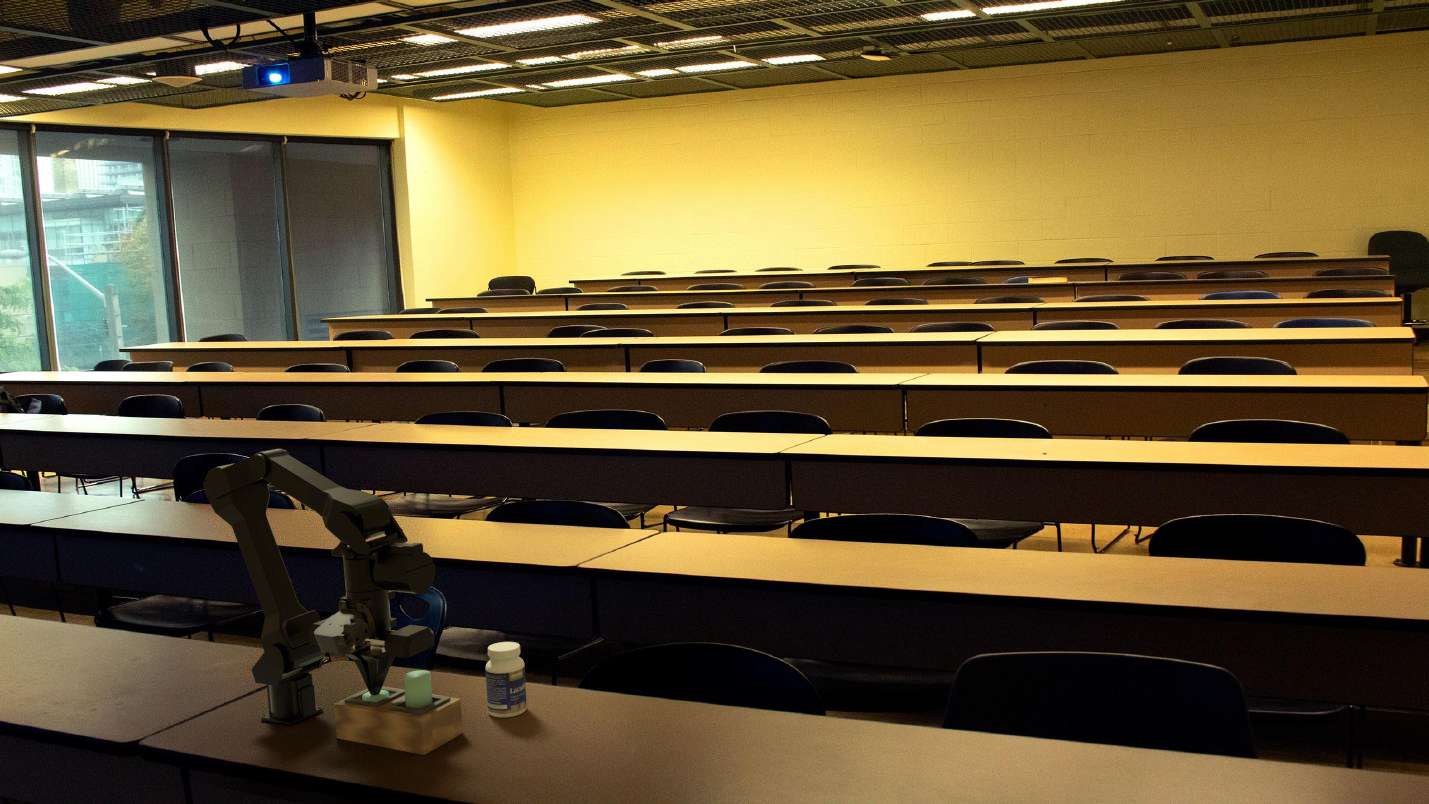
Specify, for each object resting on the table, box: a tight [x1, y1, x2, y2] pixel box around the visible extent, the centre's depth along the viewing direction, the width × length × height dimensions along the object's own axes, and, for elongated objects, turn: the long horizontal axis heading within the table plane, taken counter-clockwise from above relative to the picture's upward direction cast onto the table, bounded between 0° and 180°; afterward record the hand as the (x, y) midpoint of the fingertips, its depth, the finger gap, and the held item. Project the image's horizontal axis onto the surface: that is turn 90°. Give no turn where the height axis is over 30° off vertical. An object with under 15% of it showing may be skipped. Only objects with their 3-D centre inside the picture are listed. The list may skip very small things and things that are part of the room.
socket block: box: [333, 685, 464, 756], centre depth 159 cm, size 16×8×5 cm, turn 63°
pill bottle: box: [485, 641, 528, 719], centre depth 166 cm, size 6×6×10 cm
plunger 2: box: [403, 669, 433, 710], centre depth 157 cm, size 4×4×5 cm
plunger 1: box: [362, 690, 389, 702], centre depth 161 cm, size 4×4×5 cm
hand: (375, 694), depth 160 cm, fingers closed, pressing on plunger 1
